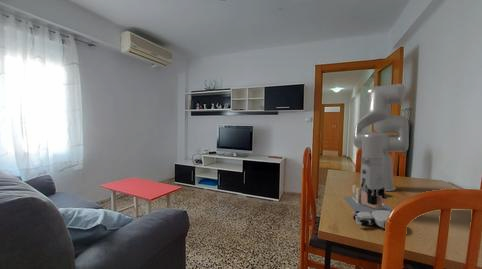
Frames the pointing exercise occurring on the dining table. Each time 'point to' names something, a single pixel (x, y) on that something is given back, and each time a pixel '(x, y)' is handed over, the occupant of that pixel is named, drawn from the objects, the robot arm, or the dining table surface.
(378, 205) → the folding fence panel
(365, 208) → the board
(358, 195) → the fixed fence panel
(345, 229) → the dining table surface
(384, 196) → the black block
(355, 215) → the robot toy
